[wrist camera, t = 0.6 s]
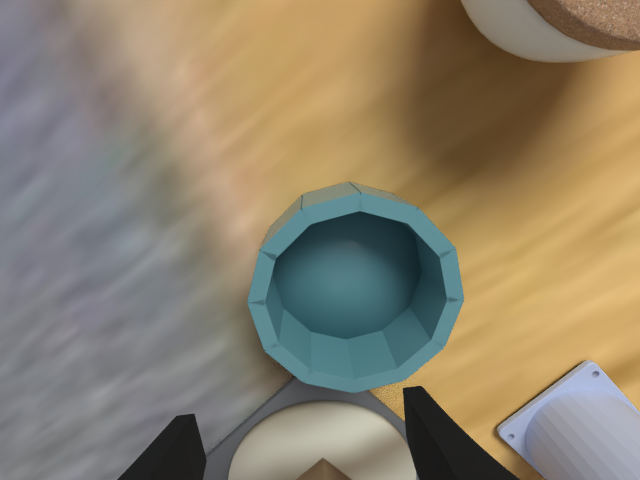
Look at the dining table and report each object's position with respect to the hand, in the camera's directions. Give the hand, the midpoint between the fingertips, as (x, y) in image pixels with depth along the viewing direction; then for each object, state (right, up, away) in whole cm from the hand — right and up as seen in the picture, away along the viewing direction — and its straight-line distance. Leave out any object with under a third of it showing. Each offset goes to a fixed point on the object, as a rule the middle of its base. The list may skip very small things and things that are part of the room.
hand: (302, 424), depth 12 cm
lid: (+1, -11, +13) cm, 16 cm away
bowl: (+2, +5, +9) cm, 10 cm away
